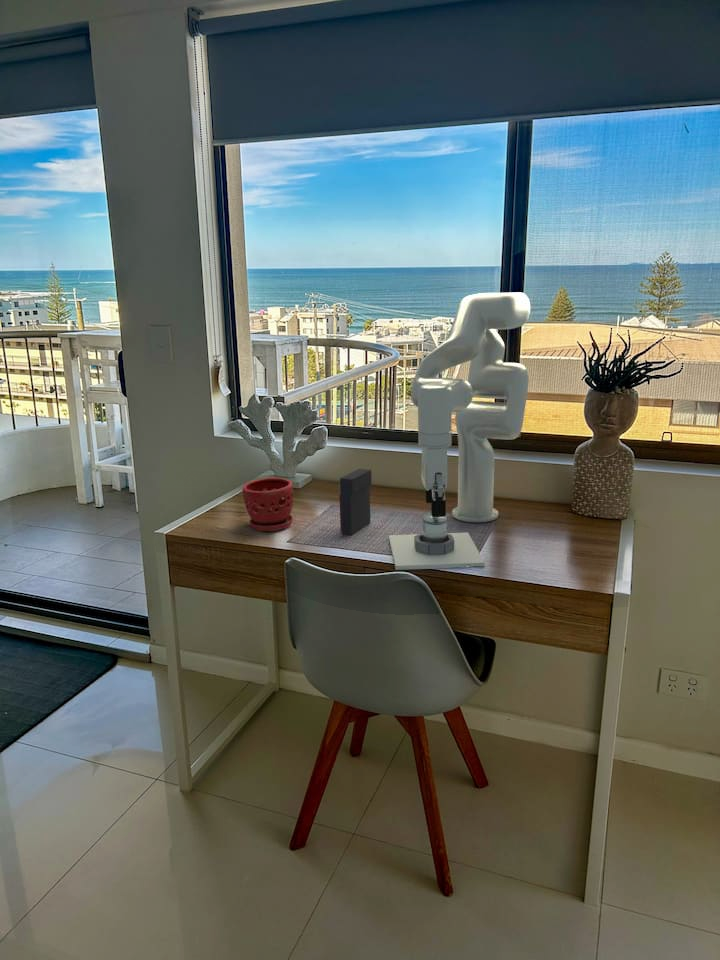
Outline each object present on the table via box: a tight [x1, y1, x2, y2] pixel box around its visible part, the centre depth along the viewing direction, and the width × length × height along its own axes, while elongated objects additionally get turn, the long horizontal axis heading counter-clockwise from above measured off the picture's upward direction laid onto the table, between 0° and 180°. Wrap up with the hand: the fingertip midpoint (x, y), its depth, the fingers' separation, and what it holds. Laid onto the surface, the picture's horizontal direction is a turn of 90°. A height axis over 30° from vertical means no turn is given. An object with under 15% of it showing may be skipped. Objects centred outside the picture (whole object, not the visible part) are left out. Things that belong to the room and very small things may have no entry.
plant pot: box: [242, 477, 294, 532], centre depth 182 cm, size 13×13×12 cm
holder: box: [388, 532, 486, 571], centre depth 162 cm, size 20×20×4 cm
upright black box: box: [338, 468, 373, 536], centre depth 178 cm, size 11×4×15 cm, turn 152°
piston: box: [422, 511, 448, 544], centre depth 161 cm, size 6×6×8 cm
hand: (435, 509), depth 161 cm, fingers open, 9 cm apart
